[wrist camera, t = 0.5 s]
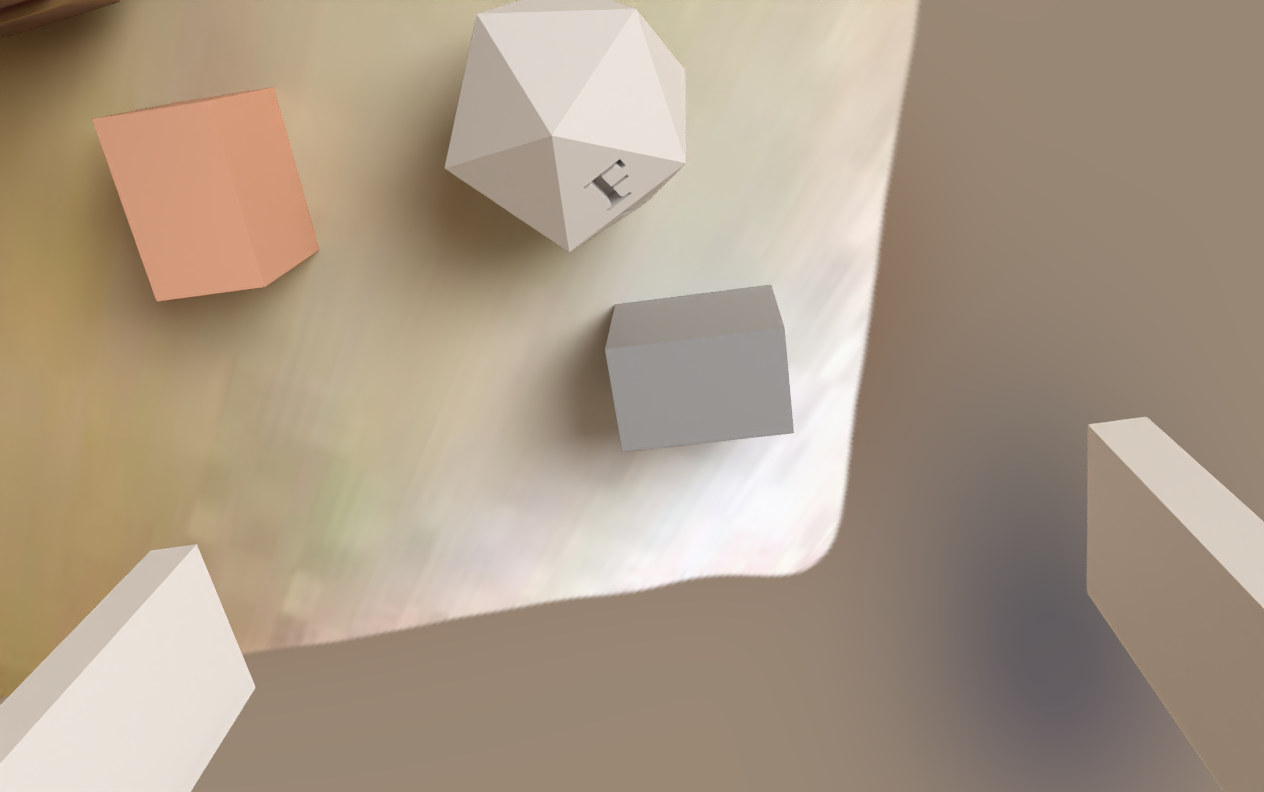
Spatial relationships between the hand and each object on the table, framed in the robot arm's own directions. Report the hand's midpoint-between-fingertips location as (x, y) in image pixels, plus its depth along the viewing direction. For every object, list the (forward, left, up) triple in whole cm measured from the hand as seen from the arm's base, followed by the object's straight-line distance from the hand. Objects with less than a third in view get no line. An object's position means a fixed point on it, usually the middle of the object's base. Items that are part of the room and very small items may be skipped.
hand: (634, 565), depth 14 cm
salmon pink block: (-3, -18, -29) cm, 34 cm away
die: (-4, -3, -29) cm, 29 cm away
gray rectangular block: (+7, 0, -29) cm, 29 cm away
